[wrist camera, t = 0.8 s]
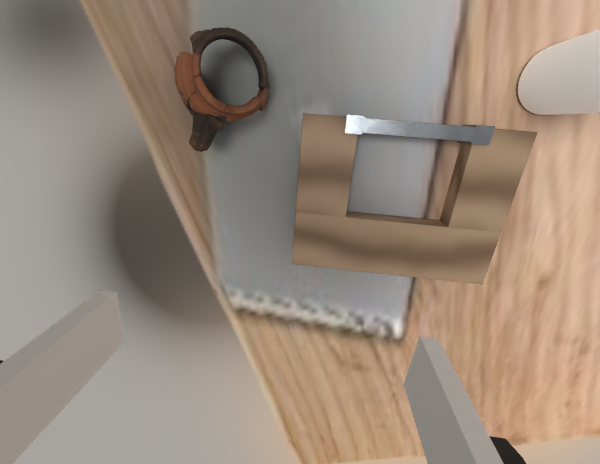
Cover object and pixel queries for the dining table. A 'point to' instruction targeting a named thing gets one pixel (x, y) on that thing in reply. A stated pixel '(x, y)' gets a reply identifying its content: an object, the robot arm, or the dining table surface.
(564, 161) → the dining table surface
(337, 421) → the dining table surface
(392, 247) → the wooden frame board
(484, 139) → the cross rail
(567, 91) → the can
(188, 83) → the pottery mug
